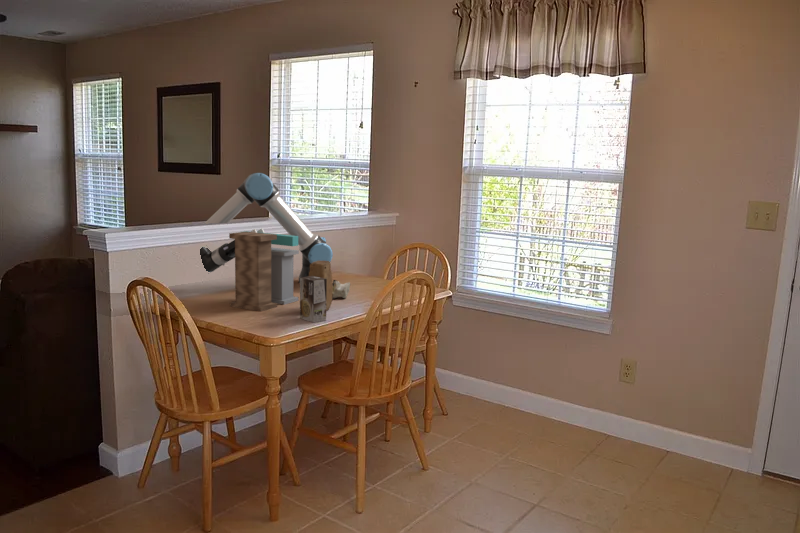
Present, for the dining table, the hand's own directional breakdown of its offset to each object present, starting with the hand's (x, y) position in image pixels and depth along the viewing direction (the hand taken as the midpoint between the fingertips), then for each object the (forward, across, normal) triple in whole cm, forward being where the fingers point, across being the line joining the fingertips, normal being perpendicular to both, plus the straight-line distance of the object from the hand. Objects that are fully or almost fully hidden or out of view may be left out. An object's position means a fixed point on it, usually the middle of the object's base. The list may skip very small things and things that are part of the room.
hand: (259, 231), depth 267 cm
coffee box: (+21, +19, -46) cm, 54 cm away
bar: (+2, 0, -6) cm, 7 cm away
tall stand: (-7, +15, -30) cm, 34 cm away
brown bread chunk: (+15, +4, -43) cm, 45 cm away
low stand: (-7, 0, -30) cm, 31 cm away
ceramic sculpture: (+8, -18, -39) cm, 44 cm away
